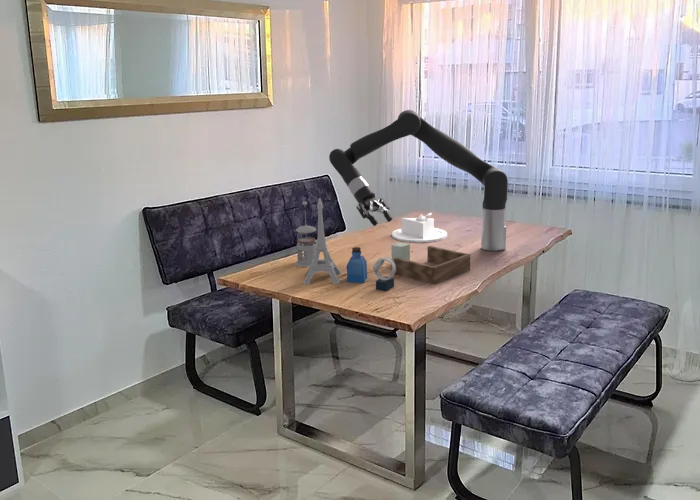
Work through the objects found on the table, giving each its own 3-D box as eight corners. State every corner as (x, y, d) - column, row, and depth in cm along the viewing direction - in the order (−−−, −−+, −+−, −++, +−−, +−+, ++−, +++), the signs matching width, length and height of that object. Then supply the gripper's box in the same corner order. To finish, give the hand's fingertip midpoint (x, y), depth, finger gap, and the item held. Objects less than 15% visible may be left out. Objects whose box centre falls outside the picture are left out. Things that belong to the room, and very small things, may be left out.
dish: (455, 232, 308) (456, 208, 305) (431, 246, 288) (432, 220, 285) (408, 227, 321) (408, 203, 318) (381, 239, 301) (381, 214, 298)
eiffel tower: (306, 273, 256) (302, 195, 247) (341, 272, 255) (339, 194, 247) (302, 284, 243) (299, 202, 235) (339, 284, 242) (337, 202, 234)
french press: (301, 268, 261) (298, 205, 254) (289, 260, 271) (286, 199, 264) (323, 264, 266) (321, 202, 259) (311, 257, 275) (309, 197, 269)
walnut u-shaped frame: (470, 269, 254) (470, 254, 252) (434, 284, 239) (434, 268, 237) (429, 260, 267) (429, 245, 265) (393, 273, 252) (393, 258, 250)
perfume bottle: (363, 283, 242) (363, 251, 239) (347, 282, 244) (346, 250, 240) (366, 277, 248) (366, 246, 245) (350, 277, 249) (349, 245, 246)
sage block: (409, 264, 263) (409, 244, 261) (401, 267, 260) (401, 247, 258) (399, 261, 266) (399, 242, 264) (391, 264, 263) (391, 244, 261)
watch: (378, 284, 241) (378, 254, 238) (398, 287, 237) (398, 257, 234) (370, 288, 236) (370, 258, 233) (391, 292, 232) (391, 261, 229)
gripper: (353, 187, 262) (376, 220, 258) (378, 182, 272) (400, 213, 267) (344, 199, 267) (366, 231, 263) (368, 193, 277) (390, 224, 272)
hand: (383, 222), depth 265 cm, fingers open, 8 cm apart
